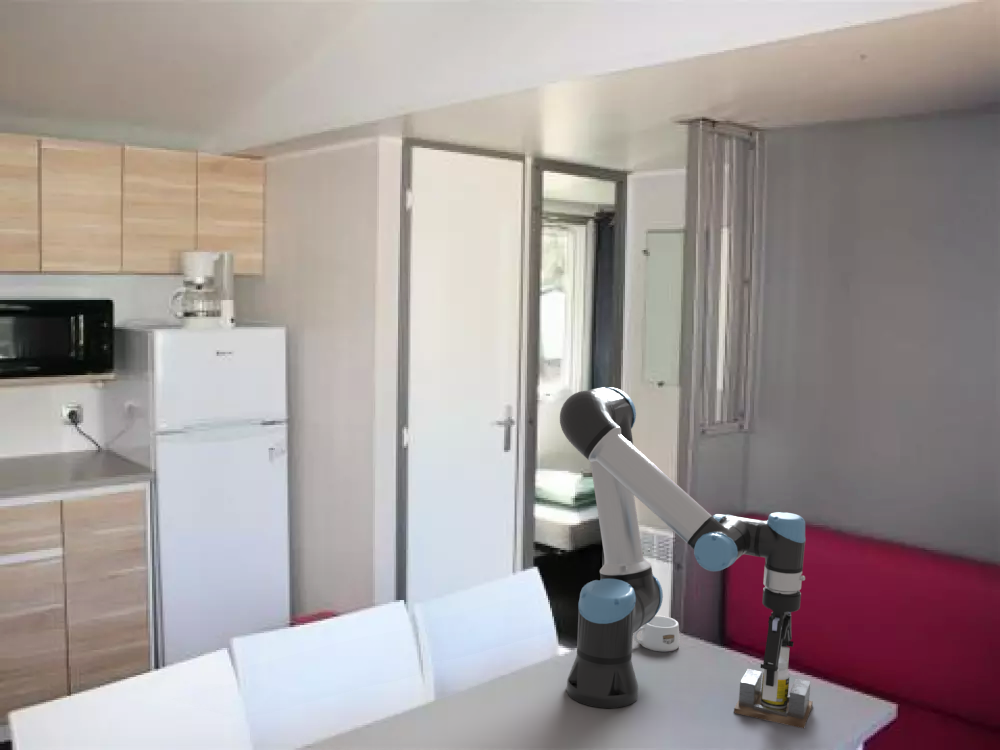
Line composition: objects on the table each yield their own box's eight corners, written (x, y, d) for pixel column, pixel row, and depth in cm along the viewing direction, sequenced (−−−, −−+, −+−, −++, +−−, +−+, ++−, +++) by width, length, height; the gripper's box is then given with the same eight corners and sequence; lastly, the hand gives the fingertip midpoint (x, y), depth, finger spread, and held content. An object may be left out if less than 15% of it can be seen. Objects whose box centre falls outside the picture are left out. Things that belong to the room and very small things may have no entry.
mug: (666, 636, 244) (668, 613, 243) (686, 650, 234) (688, 626, 234) (623, 640, 240) (625, 616, 239) (642, 655, 230) (643, 630, 230)
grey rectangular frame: (737, 706, 202) (739, 683, 202) (746, 689, 211) (748, 667, 210) (802, 720, 197) (804, 696, 196) (809, 703, 205) (811, 680, 205)
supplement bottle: (788, 711, 200) (791, 665, 199) (761, 708, 201) (764, 662, 201) (786, 700, 206) (789, 656, 205) (759, 697, 207) (762, 653, 206)
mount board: (733, 712, 201) (734, 708, 201) (745, 691, 212) (745, 687, 212) (804, 728, 195) (804, 723, 195) (812, 705, 206) (812, 701, 206)
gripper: (791, 609, 188) (783, 714, 190) (809, 575, 211) (802, 670, 213) (752, 602, 191) (745, 706, 194) (774, 570, 214) (767, 663, 216)
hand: (775, 687), depth 203 cm, fingers open, 13 cm apart
